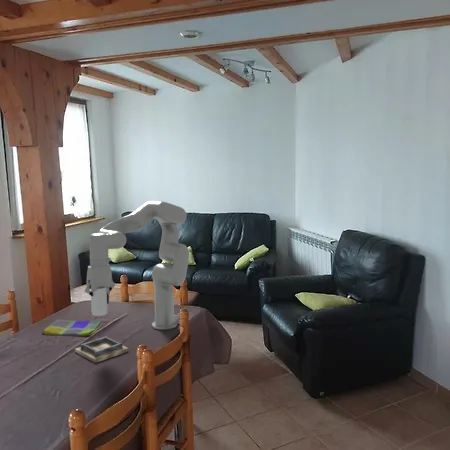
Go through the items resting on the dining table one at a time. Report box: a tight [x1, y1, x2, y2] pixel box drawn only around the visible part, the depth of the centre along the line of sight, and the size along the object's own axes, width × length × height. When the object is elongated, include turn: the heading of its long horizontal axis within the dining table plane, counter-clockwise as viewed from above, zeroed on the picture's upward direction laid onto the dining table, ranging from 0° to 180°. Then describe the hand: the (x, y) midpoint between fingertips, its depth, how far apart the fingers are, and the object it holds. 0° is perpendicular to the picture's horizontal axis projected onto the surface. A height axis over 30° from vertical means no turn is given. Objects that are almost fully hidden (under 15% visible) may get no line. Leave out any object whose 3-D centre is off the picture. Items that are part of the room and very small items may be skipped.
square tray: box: [74, 335, 129, 364], centre depth 193 cm, size 16×16×4 cm
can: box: [90, 287, 108, 317], centre depth 190 cm, size 6×6×12 cm
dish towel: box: [42, 318, 104, 337], centre depth 220 cm, size 18×24×3 cm
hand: (100, 304), depth 191 cm, fingers closed on can, 4 cm apart
